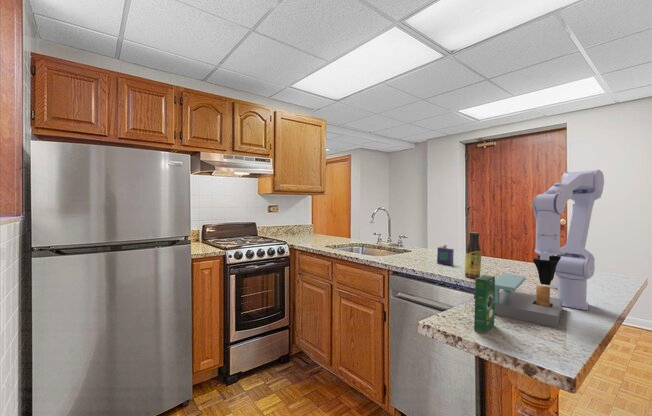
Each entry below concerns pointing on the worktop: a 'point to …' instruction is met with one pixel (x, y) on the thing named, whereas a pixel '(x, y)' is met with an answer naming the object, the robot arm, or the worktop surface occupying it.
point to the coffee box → (484, 303)
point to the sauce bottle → (473, 257)
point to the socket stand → (523, 302)
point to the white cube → (553, 282)
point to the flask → (445, 255)
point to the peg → (543, 295)
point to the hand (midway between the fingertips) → (546, 282)
